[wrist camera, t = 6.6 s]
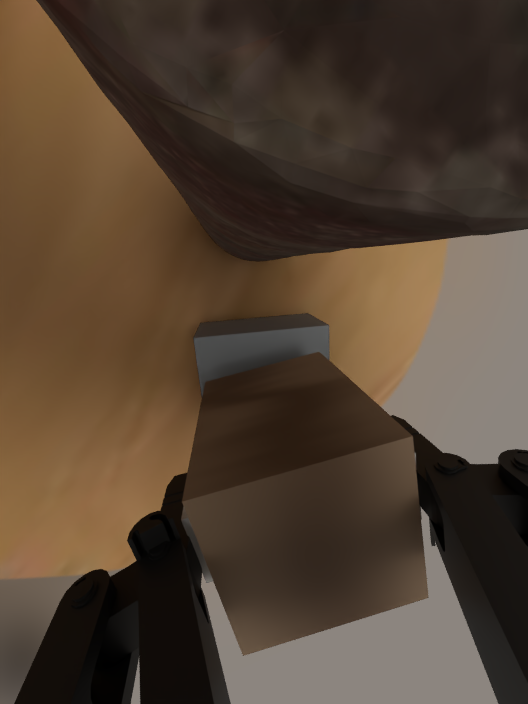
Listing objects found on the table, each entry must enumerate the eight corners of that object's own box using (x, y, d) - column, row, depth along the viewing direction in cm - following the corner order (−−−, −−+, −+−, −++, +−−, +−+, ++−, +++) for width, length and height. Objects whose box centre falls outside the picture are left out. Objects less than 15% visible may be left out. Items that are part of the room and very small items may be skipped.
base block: (200, 322, 22) (193, 337, 17) (307, 312, 22) (329, 325, 18) (213, 419, 24) (210, 457, 19) (309, 407, 25) (329, 441, 20)
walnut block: (235, 477, 17) (243, 655, 9) (205, 381, 15) (181, 501, 7) (337, 448, 17) (428, 597, 9) (319, 351, 15) (412, 436, 7)
